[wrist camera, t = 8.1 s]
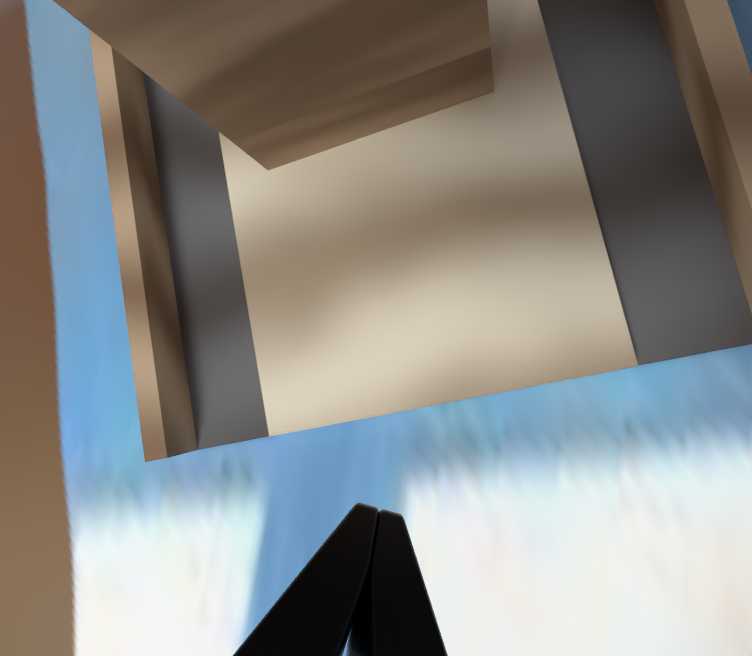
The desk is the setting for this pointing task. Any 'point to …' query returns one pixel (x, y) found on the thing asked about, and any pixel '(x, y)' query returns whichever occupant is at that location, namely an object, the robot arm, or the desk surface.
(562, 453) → the desk surface
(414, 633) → the robot arm
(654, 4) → the wooden rectangular frame
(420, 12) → the bookend
